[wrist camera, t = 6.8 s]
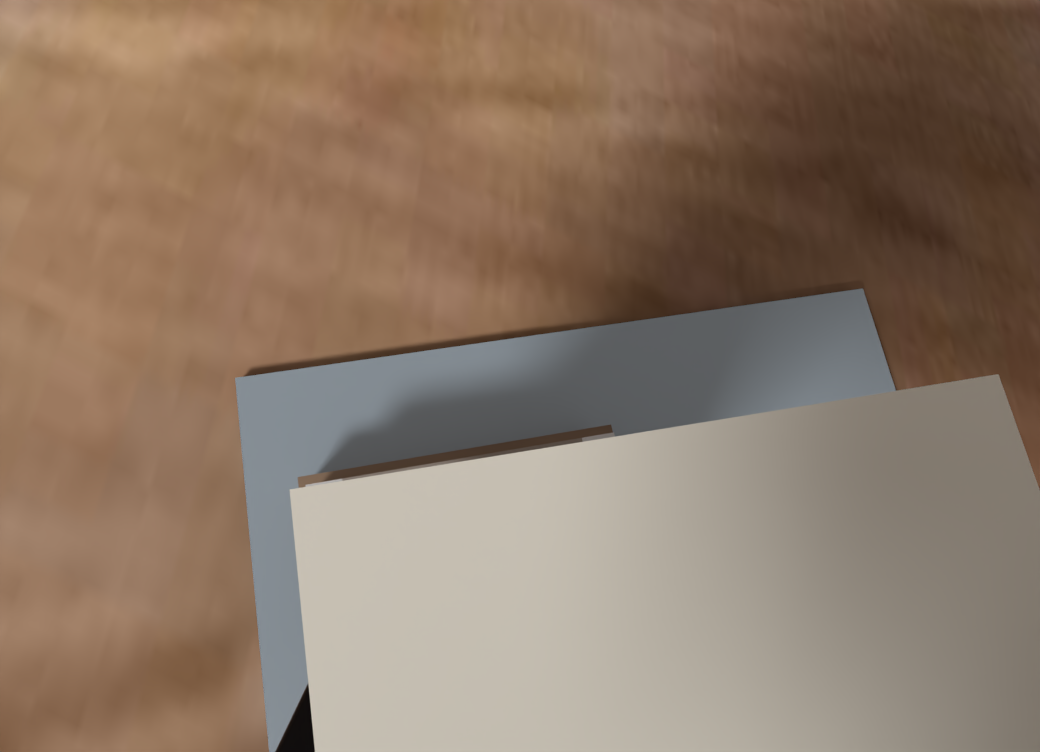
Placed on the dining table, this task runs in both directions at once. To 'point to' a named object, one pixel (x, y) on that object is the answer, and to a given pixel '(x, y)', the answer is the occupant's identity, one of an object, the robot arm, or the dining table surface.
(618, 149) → the dining table surface
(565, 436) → the brown open tray
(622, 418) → the blue-gray board
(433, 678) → the cream post
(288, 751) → the robot arm
